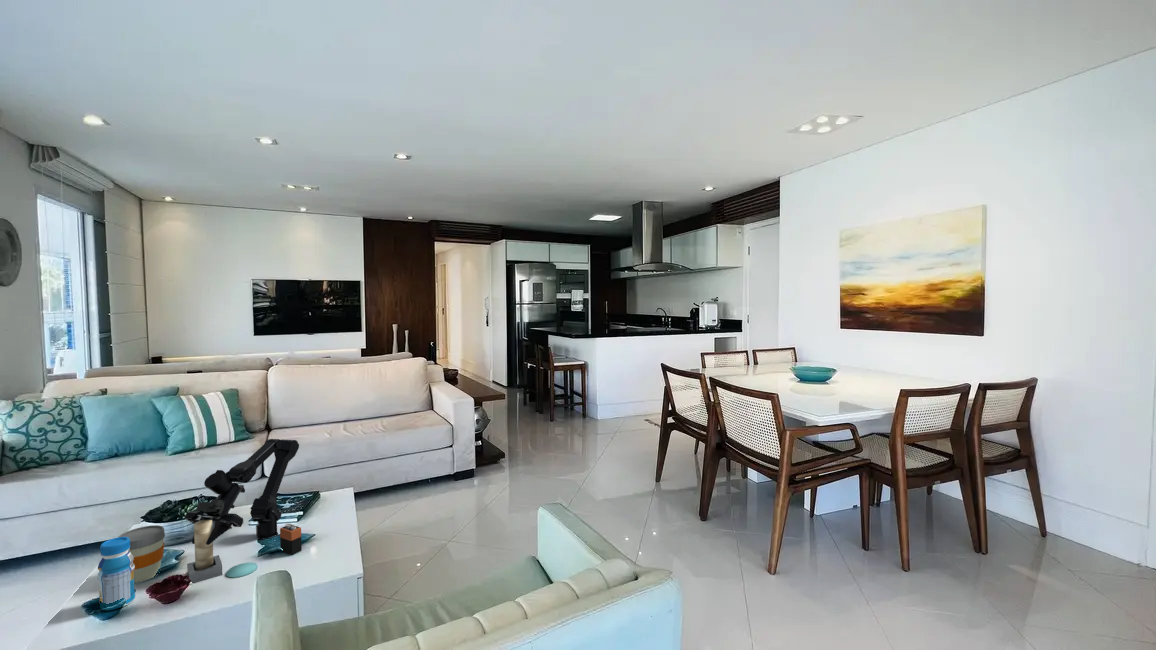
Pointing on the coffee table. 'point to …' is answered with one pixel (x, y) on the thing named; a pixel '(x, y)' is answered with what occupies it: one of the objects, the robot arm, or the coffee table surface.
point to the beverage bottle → (116, 571)
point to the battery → (290, 539)
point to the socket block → (204, 571)
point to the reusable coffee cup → (146, 550)
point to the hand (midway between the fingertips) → (200, 544)
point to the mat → (242, 570)
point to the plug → (203, 544)
